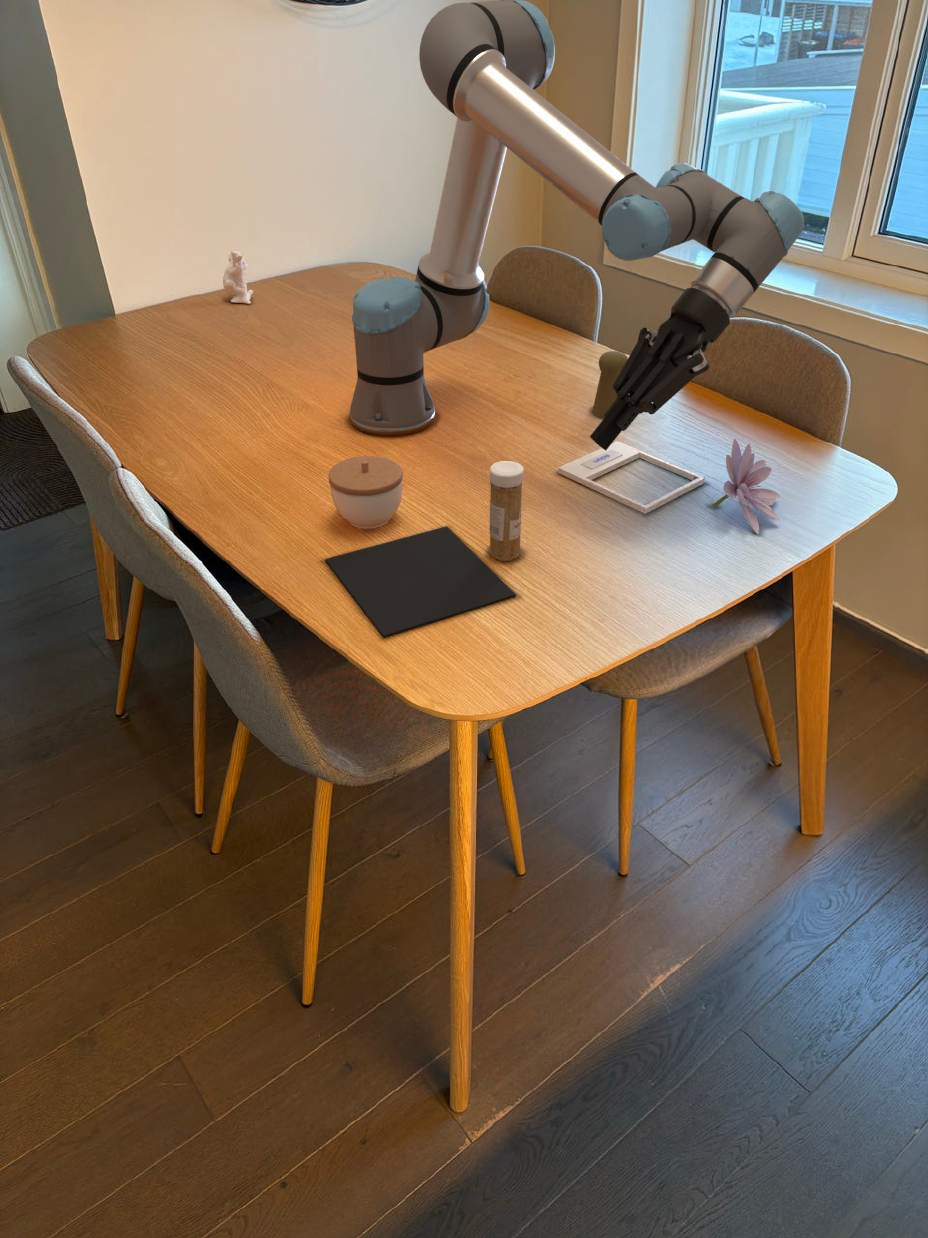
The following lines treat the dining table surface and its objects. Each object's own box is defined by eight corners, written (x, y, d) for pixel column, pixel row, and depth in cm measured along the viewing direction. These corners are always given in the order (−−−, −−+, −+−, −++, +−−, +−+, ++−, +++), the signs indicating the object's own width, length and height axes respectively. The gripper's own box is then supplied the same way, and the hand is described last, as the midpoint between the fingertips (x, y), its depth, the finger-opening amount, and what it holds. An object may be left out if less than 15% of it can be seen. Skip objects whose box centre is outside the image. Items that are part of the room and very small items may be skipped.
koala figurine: (259, 304, 221) (252, 251, 214) (231, 308, 219) (223, 254, 212) (250, 294, 227) (243, 242, 220) (223, 297, 225) (215, 245, 218)
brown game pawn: (624, 420, 167) (630, 360, 161) (590, 417, 168) (595, 358, 162) (626, 406, 172) (632, 348, 166) (593, 404, 173) (598, 346, 167)
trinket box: (333, 502, 143) (328, 446, 138) (403, 499, 144) (400, 443, 138) (331, 538, 135) (325, 480, 129) (406, 535, 135) (403, 477, 130)
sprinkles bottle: (524, 560, 130) (528, 473, 122) (492, 564, 129) (494, 476, 121) (515, 543, 134) (518, 457, 126) (484, 547, 133) (485, 461, 125)
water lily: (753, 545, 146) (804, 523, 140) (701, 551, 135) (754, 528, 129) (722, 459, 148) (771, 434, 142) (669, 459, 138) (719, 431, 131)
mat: (325, 561, 130) (325, 558, 130) (446, 528, 137) (446, 526, 137) (383, 638, 116) (383, 635, 115) (516, 596, 123) (516, 594, 122)
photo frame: (617, 439, 158) (705, 476, 147) (617, 445, 159) (704, 482, 148) (558, 466, 150) (646, 507, 139) (557, 472, 151) (645, 513, 140)
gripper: (755, 333, 123) (639, 475, 127) (691, 306, 132) (585, 439, 136) (731, 299, 118) (611, 448, 121) (666, 273, 127) (556, 412, 131)
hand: (597, 443), depth 129 cm, fingers closed
